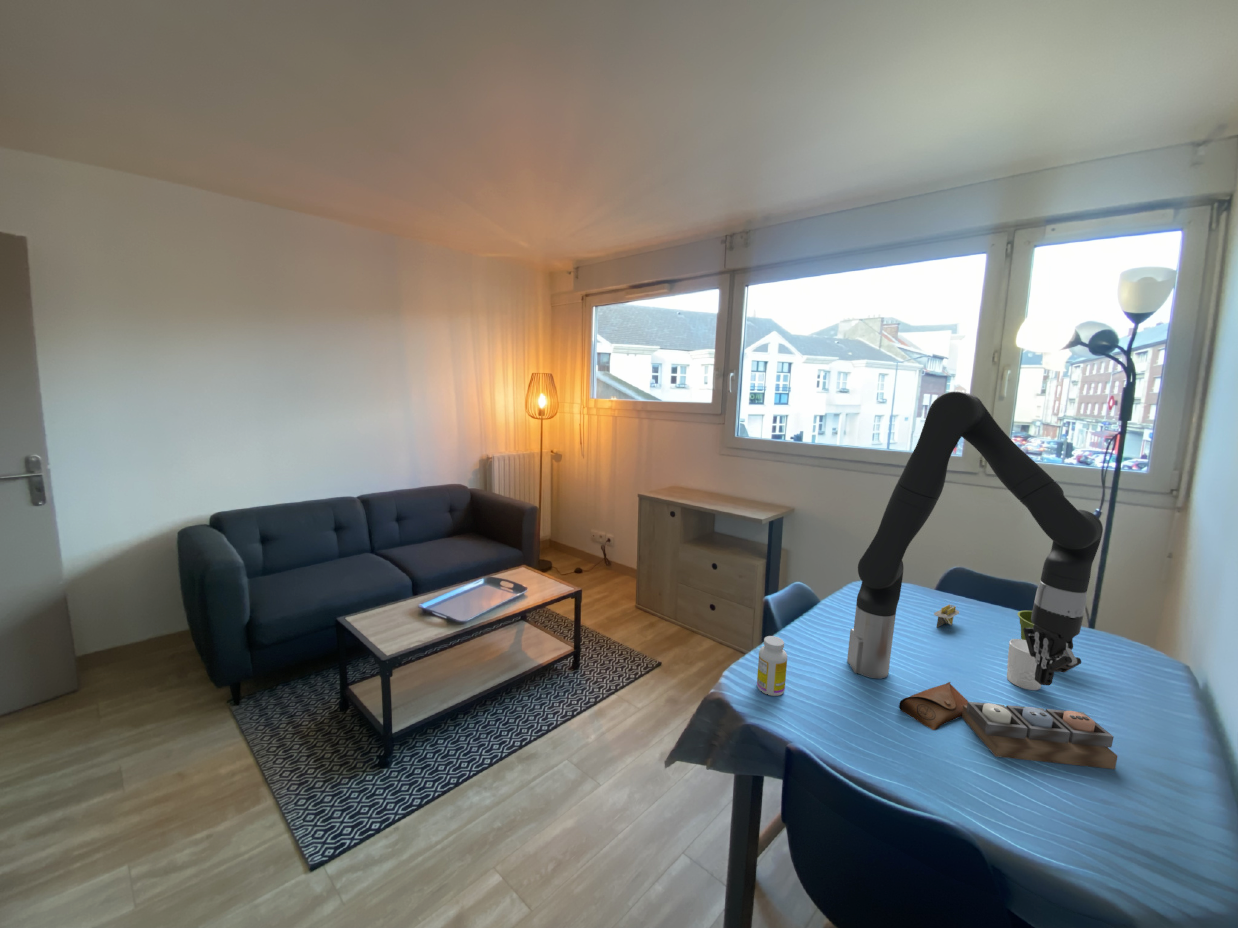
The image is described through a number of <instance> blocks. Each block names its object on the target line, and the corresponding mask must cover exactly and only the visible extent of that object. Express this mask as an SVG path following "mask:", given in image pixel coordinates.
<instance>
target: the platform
mask: <svg viewBox="0 0 1238 928" xmlns="http://www.w3.org/2000/svg"><path fill="white" fill-rule="evenodd" d="M959 614H960V611H959V610H958V609H956V605H953V604H950V603H949V604H948V605H947V604H946V605H945V606H943V607H942V608H941V609H939V610H937V611H935V612H933V615H934V616H935V617H937V621H936V628H939V627H941V626H944V625H945V624H949V625H950V626H951V625H953V622H954V617H956V616H957V615H959Z"/></svg>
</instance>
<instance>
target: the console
mask: <svg viewBox="0 0 1238 928" xmlns="http://www.w3.org/2000/svg"><path fill="white" fill-rule="evenodd" d="M986 703H987V702H975V701H969V702H968V703H967V706H966V705H964V706H963V712H962V717H961V718H962V720H964V722H965V723H966V724H967V725H968V726H969V727H970V729H971V730H972V731H973V732H974V734H976V735H977V737H978V738H979V739H980V740H981V741H982V743H983V744H984V745H985V746H986V747H987V748H988V749H989V751H990V752H991V753H992V755H993V756H995V757H996V758H997V757H998V758H1007V759H1015V760H1016V759H1017V760H1025V761H1034V762H1035V761H1036V762H1045V763H1053V764H1064V765H1075V766H1082V767H1083V766H1084V767H1093V768H1101V769H1110V770H1111V769H1112V770H1115V769H1116V765H1117V760H1118V757H1119V755H1118V754H1116V753H1115V752H1114V751H1113V750H1112V749H1111V748H1112V747H1113V743H1114V737H1115V736H1113V735H1112V734H1111V733H1110V732H1109V731H1108V730H1106V729H1105V728H1104V727H1103V726H1101V725H1100V724H1098V723H1097V722H1096V721H1095V720H1094V719H1092V720H1093V721H1094V722H1095V728H1094V732H1086V731H1076V730H1074V729H1072V728H1071V727H1070V726H1069V725H1068V724H1067V723H1066V722H1064V721H1063V715H1064V712H1065V711H1066V710H1064V709H1063V710H1062V709H1061V710H1060V709H1052V708H1046V709H1045V708H1042V707H1041V708H1040V707H1036V708H1037V709H1040V710H1042V711H1044V712H1046V713H1048V714H1049V715H1050V716H1051V717H1052V718H1053V723H1052V728H1045V727H1035V726H1031V725H1030V724H1029V723H1028V722H1027V721H1026V720H1025V719H1024V718H1023V717H1022V713H1023V708H1025V707H1026V706H1020V705H1019V706H1018V705H1008V704H1007V705H1006V706H1005V705H1004V704H999V703H998V704H997V703H996V705H999V706H1001V707H1003V708H1005V709H1007V710H1008V711H1009V712H1010V713H1011V721H1010V724H1004V723H994V722H990V721H989V720H988V719H987V718H986V717H985V716H984V715H983V714H982V710H983V705H984V704H986ZM1077 712H1078V713H1081V714H1084V715H1086V716H1088V717H1089V718H1091V717H1090V716H1089V715H1087V714H1086V713H1085V712H1084V711H1083V712H1082V711H1077Z"/></svg>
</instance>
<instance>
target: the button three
mask: <svg viewBox="0 0 1238 928" xmlns="http://www.w3.org/2000/svg"><path fill="white" fill-rule="evenodd" d="M1064 711H1065V712H1064V715H1063V721H1064V722H1066V723H1067V724H1068V725H1069V726H1070V727H1071V728H1072V729H1074V730H1076V731H1086V732H1094V728H1095V722H1096V721H1095V720H1094V719H1092V718H1091V717H1090V716H1089V715H1087V714H1086V715H1087V716H1086V715H1084V714H1081V713H1078V712H1079V711H1074V710H1064ZM1088 716H1089V717H1090V718H1089V717H1088ZM1093 720H1094V721H1095V722H1094V721H1093Z"/></svg>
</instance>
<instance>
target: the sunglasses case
mask: <svg viewBox="0 0 1238 928" xmlns="http://www.w3.org/2000/svg"><path fill="white" fill-rule="evenodd" d="M968 702H970V701H969V700H968V699H967V698H966V697H965V696H963V694H961V693H960V692H959V691H958V689H956V688H955V687H954V686H953V685H952V684H951V681H948V682H947V683H944V684H941V685H937V686H934V687H931V688H928V689H925V690H923V691H919V692H916V693H914V694H912V695H910V696H907V697H905V698H903V699H901V700H899V705H898V707H899V710H900V711H901V712H903V713H904V714H906V715H907V716H908V717H911V718H912V719H914V720H916V721H917V722H918V723H920V724H922V725H924V726H925V727H927V728H929V729H930V730H931V731H936V730H937V729H939V728H940V727H941V726H944V725H946V724H948V723H950V722H953V721H954V720H957V719H959V718H962V712H963V706H964V705H966V706H967V703H968Z"/></svg>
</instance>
